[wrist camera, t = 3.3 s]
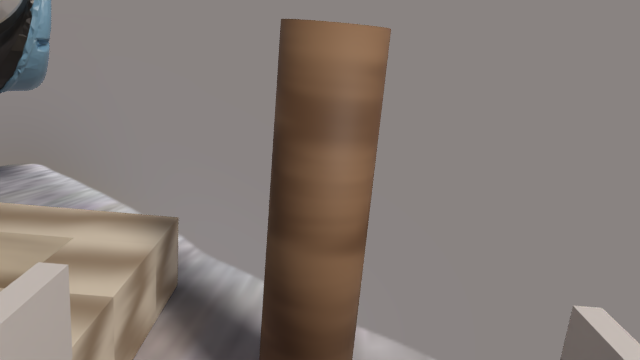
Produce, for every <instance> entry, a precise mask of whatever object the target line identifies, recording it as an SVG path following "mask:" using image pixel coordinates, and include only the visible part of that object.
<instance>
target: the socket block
mask: <svg viewBox="0 0 640 360" xmlns="http://www.w3.org/2000/svg"><path fill="white" fill-rule="evenodd" d="M38 262H42V263H55V264H67V265H68V267H69V290H70V313H71V335H72V360H133V358H134V357H135V355H136V353H137V352H138V350H139V348H140V347H141V345H142V343H143V342H144V340H145V338H146V337H147V335H148V333H149V332H150V330H151V328H152V326H153V325H154V323H155V321H156V320H157V318H158V316H159V315H160V313H161V311H162V310H163V308H164V306H165V305H166V303H167V301H168V300H169V298H170V296H171V295H172V293H173V291H174V290H175V288H176V286H177V276H178V217H166V216H153V215H142V214H130V213H118V212H106V211H94V210H82V209H70V208H58V207H46V206H34V205H22V204H10V203H0V292H1V291H2V290H3V289H4V288H6V287H7V286H8V285H10V284H11V283H12V282H13V281H15V280H16V279H17V278H19V277H20V276H21V275H23V274H24V273H25V272H26V271H28V270H29V269H30V268H32V267H33V266H34V265H35V264H37V263H38Z"/></svg>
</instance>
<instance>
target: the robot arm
mask: <svg viewBox="0 0 640 360" xmlns="http://www.w3.org/2000/svg"><path fill="white" fill-rule="evenodd" d="M50 31H51V0H0V93H2V92H5V91H27V90H32V89H34V88H37V87H38V86H39V85H40V84H41V83H42V82H43V80H44V78H45V75H46V72H47V66H48V59H49V42H48V41H49V39H50ZM0 360H72V335H71V313H70V290H69V267H68V265H67V264H55V263H42V262H38V263H37V264H35V265H34V266H33V267H32V268H30V269H29V270H28V271H26V272H25V273H24V274H23V275H21V276H20V277H19V278H17V279H16V280H15V281H13V282H12V283H11V284H10V285H8V286H7V287H6V288H4V289H3V290H2V291H1V292H0ZM560 360H640V344H639V343H638V342H637V341H636V340H635V339H634V338H633V337H632V336H631V335H630V334H629V333H628V332H627V331H626V330H624V329H623V328H622V327H621V326H620V325H619V324H618V323H617V322H616V321H615V320H614V319H613V318H612V317H611V316H610V315H609V314H608V313H607V312H606V311H605V310H604V309H602V308H595V307H583V306H573V308H572V312H571V316H570V321H569V325H568V329H567V333H566V338H565V342H564V346H563V351H562V355H561V359H560Z"/></svg>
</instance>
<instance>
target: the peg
mask: <svg viewBox="0 0 640 360" xmlns="http://www.w3.org/2000/svg"><path fill="white" fill-rule="evenodd" d="M280 29H281V30H280V44H279V60H278V75H277V91H276V107H275V122H274V139H273V153H272V169H271V185H270V200H269V217H268V232H267V248H266V263H265V264H266V265H265V279H264V294H263V310H262V326H261V341H260V357H259V360H352V356H353V348H354V339H355V331H356V322H357V314H358V305H359V297H360V288H361V280H362V271H363V263H364V254H365V246H366V237H367V229H368V220H369V211H370V203H371V195H372V186H373V177H374V169H375V161H376V152H377V143H378V135H379V127H380V118H381V110H382V101H383V93H384V84H385V75H386V66H387V59H388V50H389V42H390V33H391V29H389V28H384V27H377V26H368V25H358V24H349V23H339V22H326V21H315V20H299V19H281V28H280Z"/></svg>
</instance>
